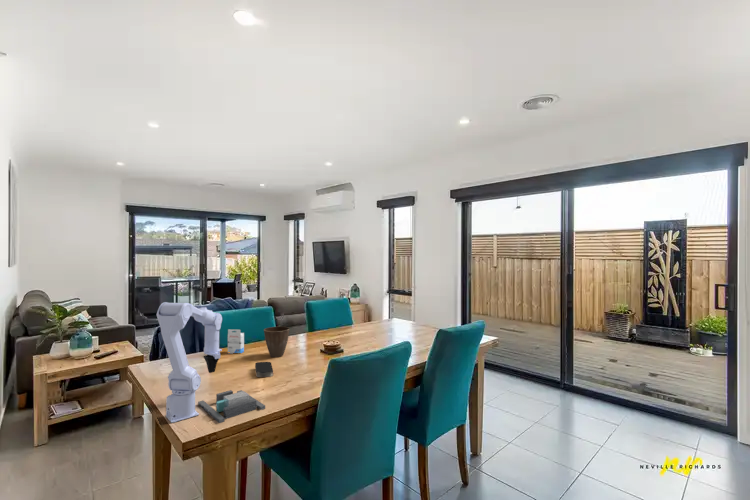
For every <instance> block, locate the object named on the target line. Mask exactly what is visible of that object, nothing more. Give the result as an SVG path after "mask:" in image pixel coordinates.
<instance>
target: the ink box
mask: <svg viewBox="0 0 750 500" xmlns="http://www.w3.org/2000/svg"><path fill="white" fill-rule="evenodd" d="M241 331H242V330H241V329H236V328H235V329H229V328H228V329H227V353H228V352H230V353H229V354H233V353H241V354H242V353H244V352H245V332H241Z"/></svg>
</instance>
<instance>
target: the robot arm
mask: <svg viewBox="0 0 750 500" xmlns="http://www.w3.org/2000/svg"><path fill="white" fill-rule="evenodd" d="M156 317H157V321H158V324H159V327H160V334H161V337H162V340H163V343H164V346H165V349H166V353H167V357H168V359H169V364H170V366H171V369H172V370H171V371H170V373H169V374H168V376H167V379H168V383H167V384H168V388H169V390H170V391H171V394H169V395H167V396H166V399H165V403H166V405H165V418H166V419H168V421H169V422H170V423H177V422H180V421H183V420H187V419H190V418H194V417H196V416H199V415H200V413H199V412H198V411H197V410H196V391H197V390H199V388H200V387H201V386H200V385H201V382H202V379H201V376H200V374H199V373H198V371H197V369H195V368H194V367H192V366H190V364H189V360H188V356H187V354H186V350H185V346H184V344H183V339H182V336H181V333H180V331H181V330H183V329H185V327H186V325H187V322H188V321H189V320H190V317H192V318H193V319H194V321H196V322H198V323H201V324H202V326H204V347H203V354H204V355H203V359H204V361H205V363H206V368H207V371H208V373H209V374H211V373H215V371H216V369H217V364H218V362H219V359H221V352H222V351H223V349H222V348H220V330H221V327H222V322H223V316H222V314H221V313H220V312H215V311H213V310H212V309H208V308H207V306H201V307H196V306H195V305H193V304H192V303H189V302H168V301H164V302H162V303H161V304H160V305H159V307H158V309H157V312H156Z"/></svg>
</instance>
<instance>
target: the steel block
mask: <svg viewBox="0 0 750 500" xmlns="http://www.w3.org/2000/svg"><path fill="white" fill-rule="evenodd" d="M249 395H250V394H249V393H248V392H246V391H244V390H242V392H238V393H237V392H235V393H234V392H233V394H231V395H227V396H224V408H225V407H229V406H232V405H235V404H239V403H242V402H246V401H249Z"/></svg>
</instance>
